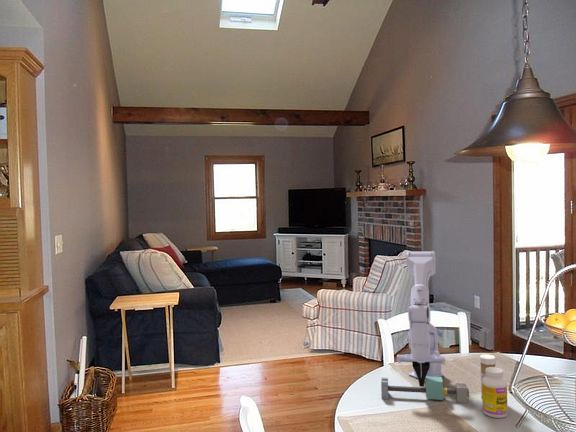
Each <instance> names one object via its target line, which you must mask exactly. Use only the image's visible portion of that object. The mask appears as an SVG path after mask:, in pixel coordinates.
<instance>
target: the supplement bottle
mask: <svg viewBox="0 0 576 432" xmlns="http://www.w3.org/2000/svg"><path fill="white" fill-rule="evenodd" d="M485 373H486V376H485V377H483V379H482V391H481V396H482V398H481V400H482V403H481V405H482V412H483V414H485V415H486V416H488V417H490V418H495V419H502V418H505V417H507V415H508V382H507V380H506V379H505V378H504V377H503V376H504V369H502V368H500V367H496V366H495V367H487V368H486V369H485Z"/></svg>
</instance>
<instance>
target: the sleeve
mask: <svg viewBox="0 0 576 432" xmlns="http://www.w3.org/2000/svg"><path fill="white" fill-rule="evenodd" d="M424 384H425V388H426V393H425V396H426V397H425V398H426V400H442V401H444V394H443V388H444V381H443V377H442V376H440V377H431V376H426V378H425V381H424Z"/></svg>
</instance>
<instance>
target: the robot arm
mask: <svg viewBox="0 0 576 432" xmlns="http://www.w3.org/2000/svg"><path fill="white" fill-rule="evenodd" d="M436 260H437V258H436V252H435V251H434V250H431V251H407V252H406V267H407V271H408V274H409V275H411V276H413V278H414V285H413V286H412V287H411V289H410V303H409V306H408V308H407V310H408V311H407V313H408V315H407V317H408V322H409V329H408V348H409V349H410V353H406V354H397V355H396V362H397V364H398V363H399V364H401V363H411V364H412V369H413V371H411V372H409V373H408V376H411V377H413V378H415V379H417V380H418V383H419V384H418V387H425V378H426V376H431V377H442V376H444V375H445V374H444V373H442V365H446V356H443V355H442V356H441V353H440V351H439V336H438V329H437V327H436V326H435V325H433V324H432V323H431V307H430V291H429V281H430V277H432V276H434V275H435V274H436V268H437V267H436V266H437V265H436V262H437V261H436Z"/></svg>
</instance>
